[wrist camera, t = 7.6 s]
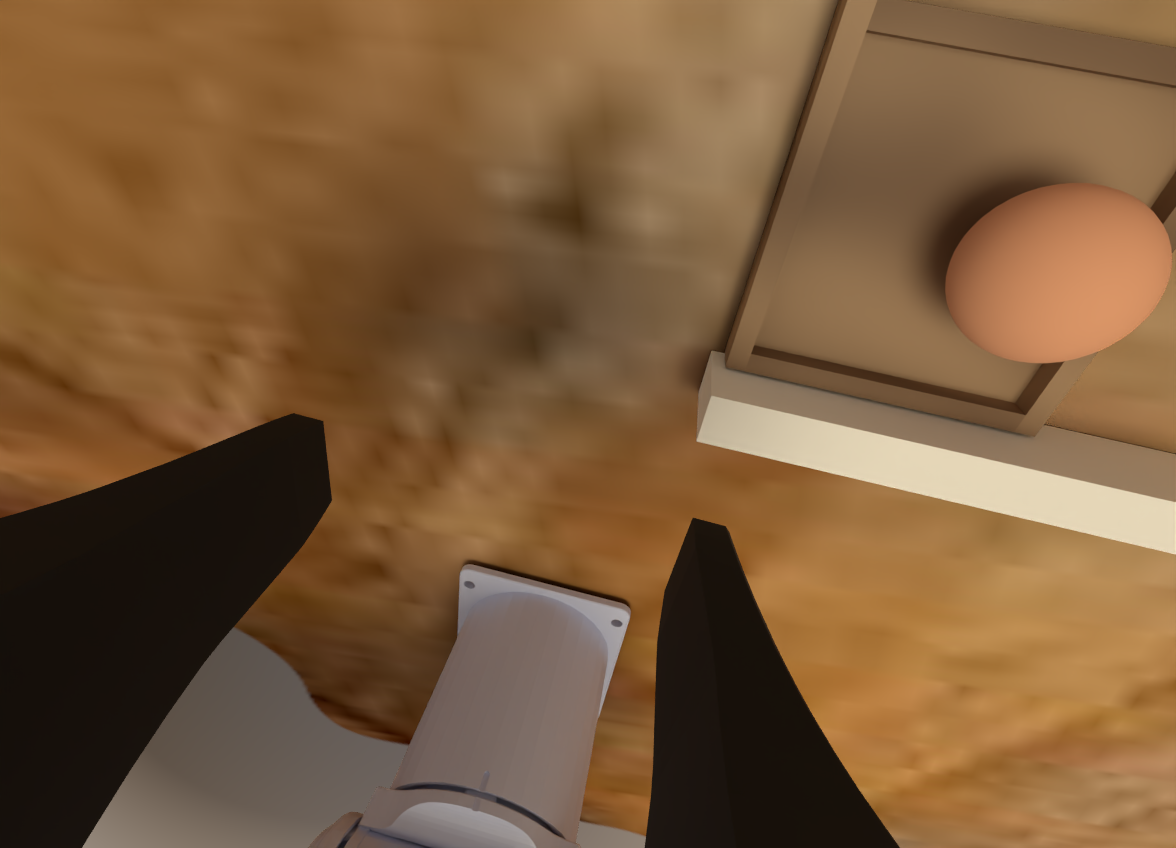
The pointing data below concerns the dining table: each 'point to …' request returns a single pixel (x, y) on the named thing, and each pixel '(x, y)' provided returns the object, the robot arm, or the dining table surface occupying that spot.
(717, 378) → the strip
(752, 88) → the dining table surface
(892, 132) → the tray
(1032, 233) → the ball
